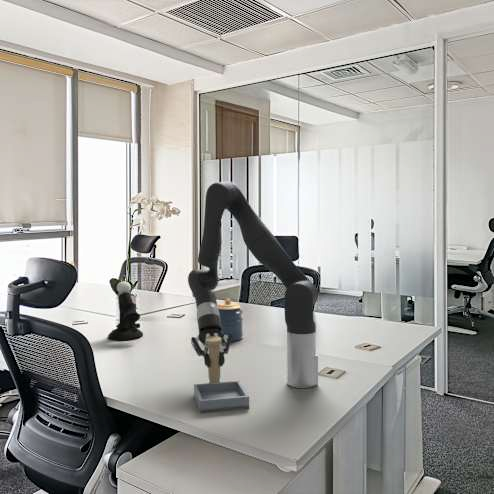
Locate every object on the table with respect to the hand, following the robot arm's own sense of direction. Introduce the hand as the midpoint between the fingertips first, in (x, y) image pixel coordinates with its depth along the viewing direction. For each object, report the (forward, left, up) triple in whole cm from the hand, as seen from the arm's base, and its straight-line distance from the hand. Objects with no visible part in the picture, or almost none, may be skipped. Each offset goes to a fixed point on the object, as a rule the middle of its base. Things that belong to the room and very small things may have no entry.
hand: (215, 365), depth 159 cm
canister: (-16, -63, -8) cm, 65 cm away
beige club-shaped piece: (0, -2, -7) cm, 7 cm away
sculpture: (+27, -74, -8) cm, 79 cm away
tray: (0, +10, -8) cm, 13 cm away
